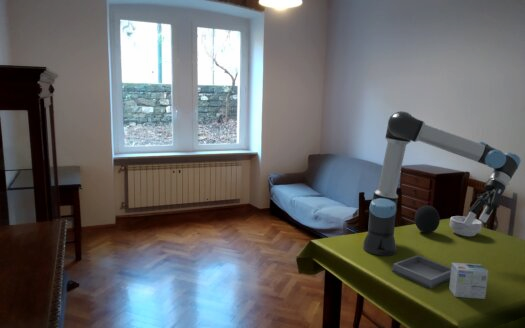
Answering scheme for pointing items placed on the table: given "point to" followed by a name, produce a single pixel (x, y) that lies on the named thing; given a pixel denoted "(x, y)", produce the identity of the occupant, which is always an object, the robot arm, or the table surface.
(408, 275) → the tray
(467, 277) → the light bulb box
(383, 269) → the table surface
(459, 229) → the paper bowls
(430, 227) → the decorative egg
